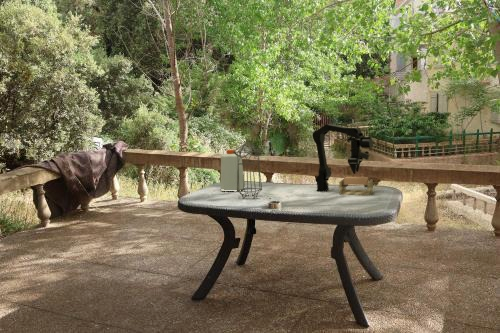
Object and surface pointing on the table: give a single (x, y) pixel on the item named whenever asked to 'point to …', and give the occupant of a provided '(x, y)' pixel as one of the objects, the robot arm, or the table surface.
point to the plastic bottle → (231, 171)
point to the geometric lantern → (250, 168)
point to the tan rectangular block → (355, 180)
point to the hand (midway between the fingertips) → (356, 172)
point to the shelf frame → (355, 192)
